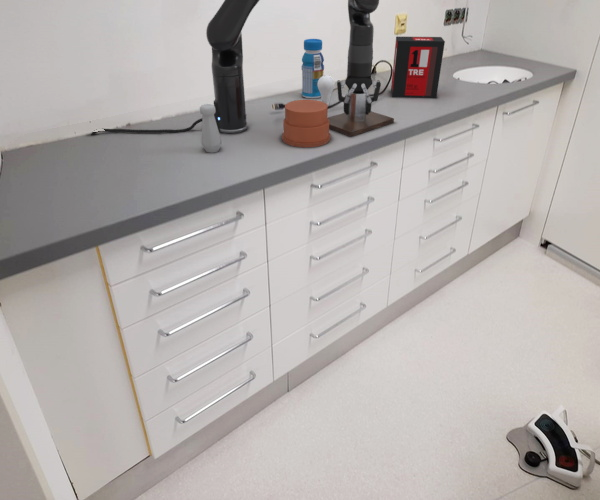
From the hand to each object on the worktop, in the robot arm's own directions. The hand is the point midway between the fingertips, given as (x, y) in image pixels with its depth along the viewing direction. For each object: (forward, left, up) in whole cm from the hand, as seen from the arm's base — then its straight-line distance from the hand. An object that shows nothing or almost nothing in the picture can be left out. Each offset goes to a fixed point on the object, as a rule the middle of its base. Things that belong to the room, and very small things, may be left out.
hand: (356, 113), depth 154 cm
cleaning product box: (+24, +35, -3) cm, 43 cm away
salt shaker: (-43, -24, -3) cm, 49 cm away
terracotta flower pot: (-16, -14, -3) cm, 22 cm away
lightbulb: (-10, +18, -3) cm, 21 cm away
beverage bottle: (-15, +32, -3) cm, 36 cm away
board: (0, 0, -3) cm, 3 cm away
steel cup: (0, 0, -2) cm, 2 cm away
